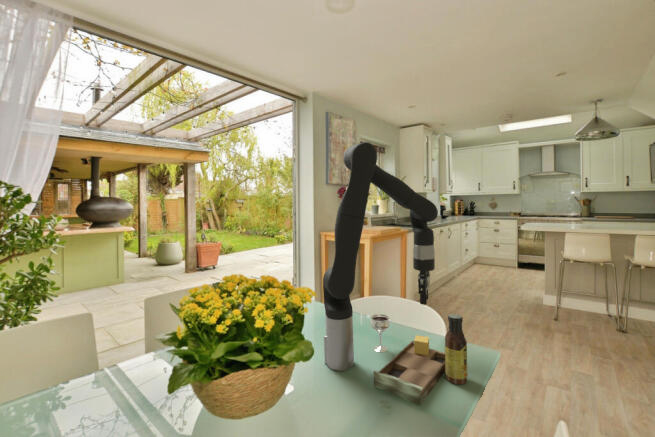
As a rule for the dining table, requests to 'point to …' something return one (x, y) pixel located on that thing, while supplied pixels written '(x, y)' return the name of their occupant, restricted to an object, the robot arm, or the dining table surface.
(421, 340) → the mustard block
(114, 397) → the dining table surface
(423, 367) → the trap deck
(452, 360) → the sauce bottle
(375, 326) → the wineglass
